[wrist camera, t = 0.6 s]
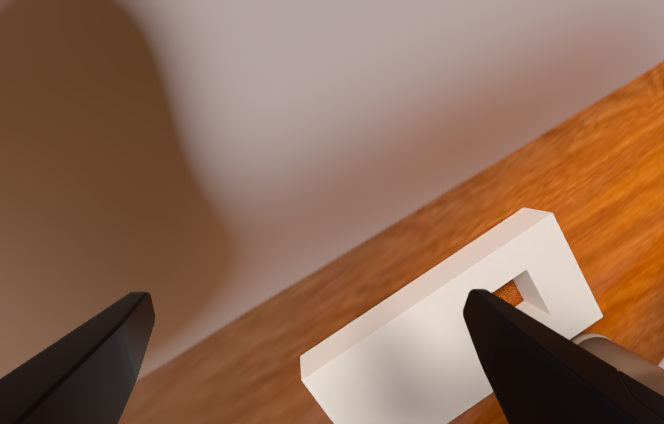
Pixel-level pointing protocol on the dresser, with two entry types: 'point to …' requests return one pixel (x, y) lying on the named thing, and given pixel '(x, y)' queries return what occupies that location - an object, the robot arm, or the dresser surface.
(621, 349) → the peg
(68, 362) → the robot arm
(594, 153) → the dresser surface
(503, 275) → the board
